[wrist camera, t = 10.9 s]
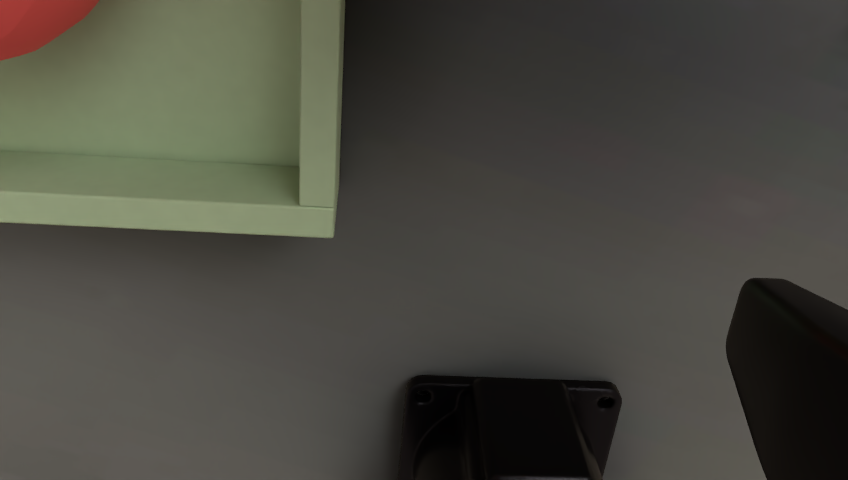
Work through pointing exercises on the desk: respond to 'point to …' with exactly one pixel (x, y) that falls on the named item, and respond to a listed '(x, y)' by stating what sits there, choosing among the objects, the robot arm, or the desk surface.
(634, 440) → the desk surface
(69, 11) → the red bean shape
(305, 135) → the tray
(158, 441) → the desk surface
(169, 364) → the desk surface
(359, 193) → the desk surface
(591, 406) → the robot arm
